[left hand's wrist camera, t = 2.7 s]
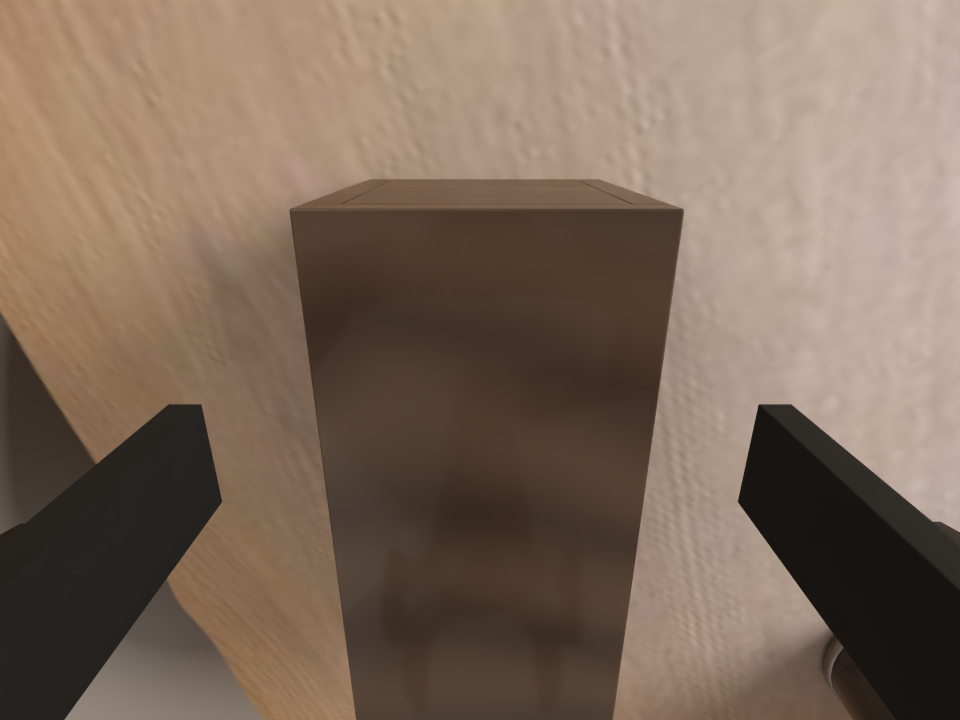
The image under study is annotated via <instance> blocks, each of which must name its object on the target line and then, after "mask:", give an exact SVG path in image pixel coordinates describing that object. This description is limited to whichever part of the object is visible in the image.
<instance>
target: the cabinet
mask: <svg viewBox="0 0 960 720" xmlns="http://www.w3.org/2000/svg"><path fill="white" fill-rule="evenodd" d="M683 215H684V209H682V208H679V207H676V206H673V205H670V204H667V203H664V202H662V201H659V200H656V199H653V198H650V197H647V196H645V195H642V194H639V193H636V192H633V191H630V190H627V189H625V188H622V187H619V186H616V185H613V184H610V183H608V182H605V181H602V180H368V181H365V182H362V183H359V184H356V185H354V186H351V187H348V188H346V189H343V190H340V191H337V192H335V193H332V194H329V195H326V196H324V197H321V198H318V199H316V200H313V201H310V202H307V203H305V204H302V205H300V206H297V207H294V208H292V209H290V217H291V225H292V233H293V240H294V248H295V256H296V263H297V271H298V278H299V286H300V294H301V301H302V309H303V317H304V324H305V332H306V340H307V347H308V355H309V363H310V370H311V378H312V385H313V393H314V401H315V408H316V416H317V424H318V431H319V439H320V447H321V454H322V462H323V469H324V477H325V485H326V492H327V500H328V508H329V515H330V523H331V531H332V538H333V546H334V553H335V561H336V569H337V576H338V584H339V592H340V599H341V607H342V615H343V622H344V630H345V638H346V645H347V653H348V660H349V668H350V676H351V683H352V691H353V699H354V706H355V714H356V720H613V714H614V707H615V700H616V692H617V685H618V678H619V671H620V664H621V657H622V650H623V643H624V635H625V628H626V621H627V614H628V607H629V600H630V593H631V586H632V578H633V571H634V564H635V557H636V550H637V543H638V536H639V529H640V522H641V514H642V507H643V500H644V493H645V486H646V479H647V472H648V465H649V457H650V450H651V443H652V436H653V429H654V422H655V415H656V408H657V401H658V393H659V386H660V379H661V372H662V365H663V358H664V351H665V344H666V336H667V329H668V322H669V315H670V308H671V301H672V294H673V287H674V280H675V272H676V265H677V258H678V251H679V244H680V237H681V230H682V223H683Z"/></svg>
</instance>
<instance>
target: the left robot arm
mask: <svg viewBox="0 0 960 720" xmlns="http://www.w3.org/2000/svg"><path fill="white" fill-rule="evenodd" d="M221 503H222V499H221V495H220V490H219V485H218V481H217V476H216V471H215V466H214V462H213V457H212V452H211V448H210V443H209V438H208V434H207V429H206V424H205V420H204V415H203V410H202V406H201V405H168V406H166V407H165V408H164V409H163V410H162V411H160V412H159V413H158V414H157V415H156V416H154V417H153V418H152V419H151V420H150V421H148V422H147V423H146V424H145V425H143V426H142V427H141V428H140V429H139V430H137V431H136V432H135V433H134V434H133V435H131V436H130V437H129V438H128V439H127V440H125V441H124V442H123V443H122V444H121V445H119V446H118V447H117V448H116V449H115V450H113V451H112V452H111V453H110V454H109V455H107V456H106V457H105V458H104V459H103V460H101V461H100V462H99V463H98V464H97V465H95V466H94V467H93V468H92V469H91V470H89V471H88V472H87V473H86V474H85V475H83V476H82V477H81V478H80V479H78V480H77V481H76V482H75V483H74V484H73V485H71V486H70V487H69V488H68V489H66V490H65V491H64V492H63V493H62V494H61V495H59V496H58V497H57V498H56V499H54V500H53V501H52V502H51V503H50V504H48V505H47V506H46V507H45V508H44V509H42V510H41V511H40V512H39V513H38V514H36V515H35V516H34V517H33V518H32V519H30V520H29V521H28V522H27V523H26V524H19V525H17V526H15V527H13V528H12V529H10V530H8V531H6V532H4V533H3V534H1V535H0V720H64V719H65V718H66V717H67V715H68V714H69V712H70V711H71V710H72V708H73V707H74V705H75V704H76V703H77V701H78V700H79V699H80V697H81V696H82V694H83V693H84V692H85V690H86V689H87V688H88V686H89V685H90V683H91V682H92V681H93V679H94V678H95V676H96V675H97V674H98V672H99V671H100V670H101V668H102V667H103V665H104V664H105V663H106V661H107V660H108V658H109V657H110V656H111V654H112V653H113V652H114V650H115V649H116V648H117V646H118V645H119V643H120V642H121V641H122V639H123V638H124V637H125V635H126V634H127V632H128V631H129V630H130V628H131V627H132V625H133V624H134V623H135V621H136V620H137V619H138V617H139V616H140V614H141V613H142V612H143V610H144V609H145V607H146V606H147V605H148V603H149V602H150V601H151V599H152V598H153V596H154V595H155V594H156V592H157V591H158V590H159V588H160V587H161V585H162V584H163V583H164V581H165V580H166V579H167V577H168V576H169V574H170V573H171V572H172V570H173V569H174V568H175V566H176V565H177V563H178V562H179V561H180V559H181V558H182V556H183V555H184V554H185V552H186V551H187V550H188V548H189V547H190V545H191V544H192V543H193V541H194V540H195V539H196V537H197V536H198V534H199V533H200V532H201V530H202V529H203V527H204V526H205V525H206V523H207V522H208V521H209V519H210V518H211V516H212V515H213V514H214V512H215V511H216V510H217V508H218V507H219V505H220V504H221ZM738 503H739V504H740V505H741V507H742V508H743V510H744V511H745V512H746V514H747V515H748V516H749V518H750V519H751V521H752V522H753V523H754V525H755V526H756V527H757V529H758V530H759V532H760V533H761V534H762V536H763V537H764V539H765V540H766V541H767V543H768V544H769V545H770V547H771V548H772V550H773V551H774V552H775V554H776V555H777V556H778V558H779V559H780V561H781V562H782V563H783V565H784V566H785V568H786V569H787V570H788V572H789V573H790V574H791V576H792V577H793V579H794V580H795V581H796V583H797V584H798V585H799V587H800V588H801V590H802V591H803V592H804V594H805V595H806V596H807V598H808V599H809V601H810V602H811V603H812V605H813V606H814V608H815V609H816V610H817V612H818V613H819V614H820V616H821V617H822V619H823V620H824V621H825V623H826V624H827V625H828V627H829V628H830V630H831V631H832V632H833V634H834V635H835V637H836V638H837V639H838V641H839V642H840V643H841V645H842V646H843V648H844V649H845V650H846V652H847V653H848V654H849V656H850V657H851V659H852V660H853V661H854V663H855V664H856V665H857V667H858V668H859V670H860V671H861V672H862V674H863V675H864V677H865V678H866V679H867V681H868V682H869V683H870V685H871V686H872V688H873V689H874V690H875V692H876V693H877V694H878V696H879V697H880V699H881V700H882V701H883V703H884V704H885V706H886V707H887V708H888V710H889V711H890V712H891V714H892V715H893V717H894V718H895V719H896V720H960V532H958V531H956V530H954V529H953V528H951V527H949V526H947V525H945V524H943V523H942V522H932V521H931V520H930V519H928V518H927V517H926V516H925V515H924V514H922V513H921V512H920V511H919V510H918V509H916V508H915V507H914V506H913V505H912V504H910V503H909V502H908V501H907V500H906V499H904V498H903V497H902V496H901V495H900V494H898V493H897V492H896V491H895V490H894V489H892V488H891V487H890V486H889V485H888V484H886V483H885V482H884V481H883V480H882V479H880V478H879V477H878V476H877V475H875V474H874V473H873V472H872V471H871V470H869V469H868V468H867V467H866V466H865V465H863V464H862V463H861V462H860V461H859V460H857V459H856V458H855V457H854V456H853V455H851V454H850V453H849V452H848V451H847V450H845V449H844V448H843V447H842V446H841V445H839V444H838V443H837V442H836V441H835V440H833V439H832V438H831V437H830V436H829V435H827V434H826V433H825V432H824V431H823V430H821V429H820V428H819V427H818V426H817V425H815V424H814V423H813V422H812V421H810V420H809V419H808V418H807V417H806V416H804V415H803V414H802V413H801V412H800V411H798V410H797V409H796V408H795V407H794V406H792V405H759V406H758V410H757V415H756V420H755V424H754V429H753V434H752V438H751V443H750V448H749V452H748V457H747V462H746V466H745V471H744V476H743V481H742V485H741V490H740V495H739V499H738Z"/></svg>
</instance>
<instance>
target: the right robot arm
mask: <svg viewBox="0 0 960 720" xmlns="http://www.w3.org/2000/svg"><path fill="white" fill-rule="evenodd" d="M823 673H824V677H825V679H826V681H827V683H828V684H829V686H830V688H831V689H832V691H833V692H834V694H835V695H836V697H837V698H838V699H839V700H840V701H841V702H842V704H843V705H844V707H845V708H846V710H847V711H848V713H849V715H850V716H851V718H852V719H853V720H896V719H895V718H894V717H893V715H892V714H891V712H890V711H889V710H888V708H887V707H886V706H885V704H884V703H883V701H882V700H881V699H880V697H879V696H878V694H877V693H876V692H875V690H874V689H873V688H872V686H871V685H870V683H869V682H868V681H867V679H866V678H865V677H864V675H863V674H862V672H861V671H860V670H859V668H858V667H857V665H856V664H855V663H854V661H853V660H852V659H851V657H850V656H849V654H848V653H847V652H846V650H845V649H844V648H843V646H842V645H841V643H840V642H839V641H838V639H837V638H836V637H835V638H834V639H833V641H832V642H831V644H830V645H829V647H828V649H827V651H826V653H825V656H824V660H823Z"/></svg>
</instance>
